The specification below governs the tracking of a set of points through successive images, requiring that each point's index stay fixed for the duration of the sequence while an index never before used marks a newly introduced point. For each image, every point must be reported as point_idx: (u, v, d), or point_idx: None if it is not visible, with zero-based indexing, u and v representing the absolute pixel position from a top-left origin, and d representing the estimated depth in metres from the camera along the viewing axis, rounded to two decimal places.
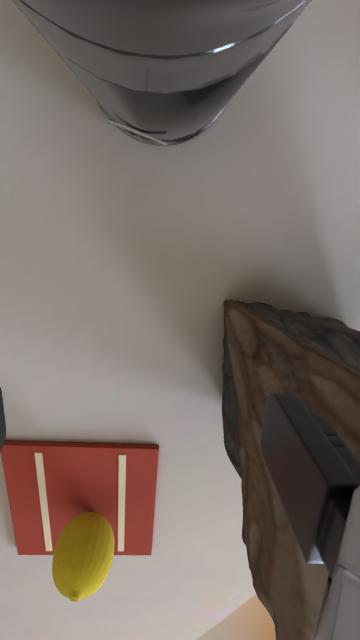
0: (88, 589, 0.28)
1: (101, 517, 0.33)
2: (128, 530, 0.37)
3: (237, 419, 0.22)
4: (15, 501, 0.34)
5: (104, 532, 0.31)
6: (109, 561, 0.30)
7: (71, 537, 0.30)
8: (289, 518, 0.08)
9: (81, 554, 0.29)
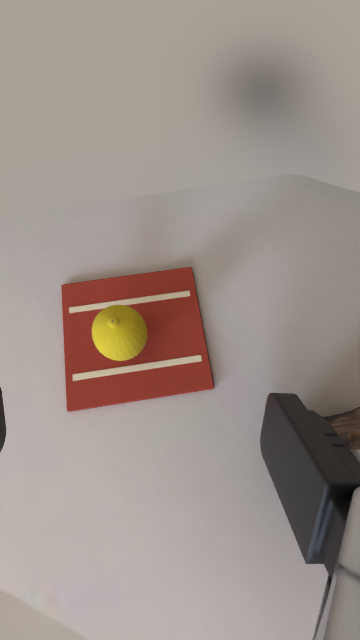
0: (118, 333, 0.30)
1: None
2: (104, 380, 0.36)
3: (350, 414, 0.28)
4: (132, 279, 0.40)
5: (142, 348, 0.34)
6: (126, 353, 0.32)
7: None
8: (289, 518, 0.08)
9: (142, 326, 0.32)
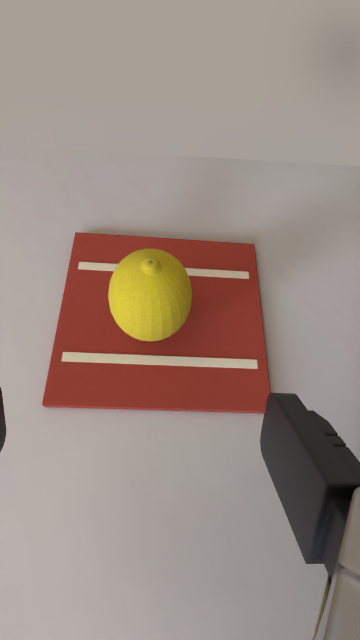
0: (155, 284, 0.19)
1: None
2: (109, 369, 0.24)
3: None
4: (172, 244, 0.29)
5: (180, 326, 0.22)
6: (157, 324, 0.20)
7: None
8: (289, 518, 0.08)
9: (189, 287, 0.21)
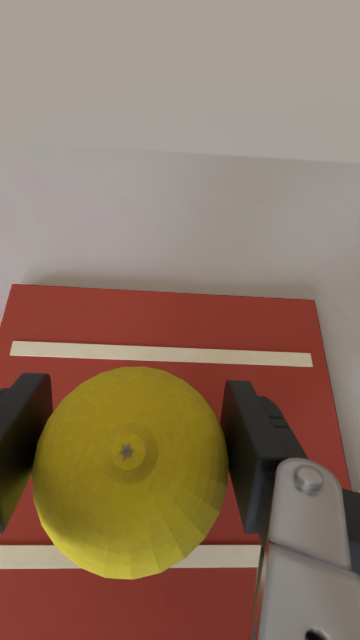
0: (141, 512, 0.07)
1: None
2: (54, 584, 0.12)
3: None
4: (178, 303, 0.17)
5: None
6: (148, 574, 0.08)
7: None
8: (235, 494, 0.09)
9: (227, 467, 0.09)
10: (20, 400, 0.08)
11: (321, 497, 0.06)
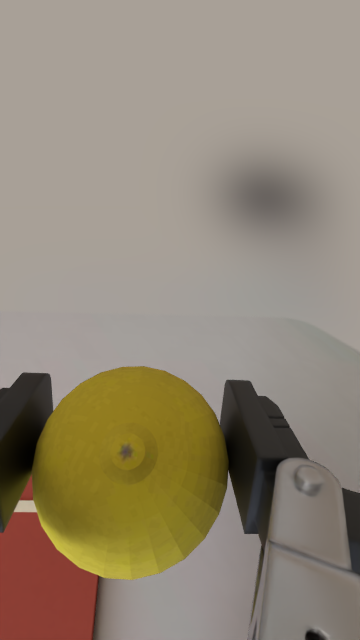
0: (141, 512, 0.07)
1: None
2: None
3: None
4: None
5: None
6: (148, 574, 0.08)
7: None
8: (235, 494, 0.09)
9: (226, 467, 0.09)
10: (20, 400, 0.08)
11: (321, 497, 0.06)
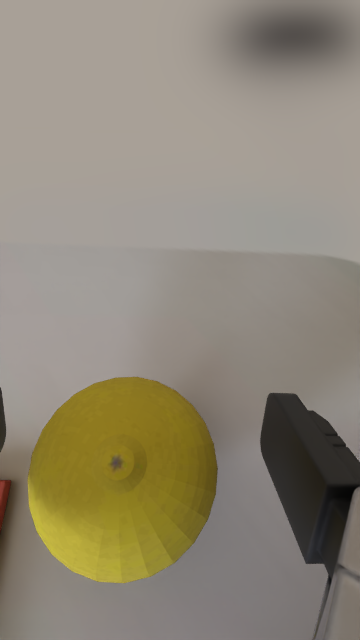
0: (131, 520, 0.07)
1: None
2: None
3: None
4: None
5: None
6: (139, 578, 0.08)
7: None
8: (289, 518, 0.08)
9: (214, 475, 0.09)
10: None
11: None
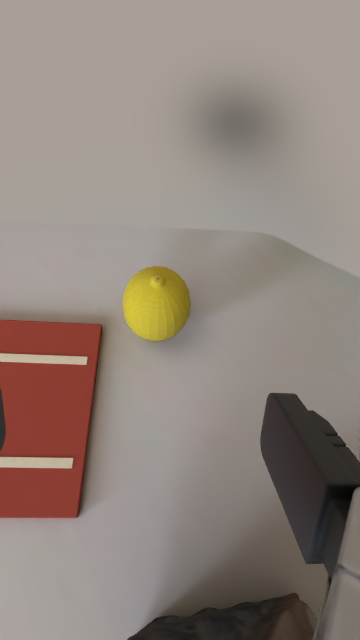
0: (161, 296, 0.24)
1: None
2: None
3: None
4: (14, 327, 0.29)
5: (180, 328, 0.27)
6: (162, 327, 0.25)
7: None
8: (289, 518, 0.08)
9: (188, 297, 0.26)
10: None
11: None
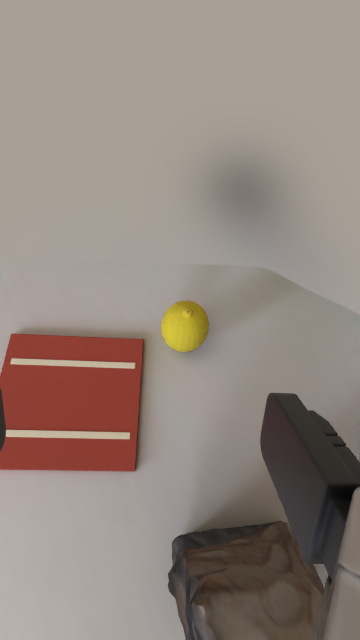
0: (190, 323, 0.35)
1: None
2: (25, 441, 0.35)
3: (253, 534, 0.27)
4: (82, 341, 0.40)
5: None
6: (190, 343, 0.37)
7: None
8: (289, 518, 0.08)
9: (207, 322, 0.37)
10: None
11: None
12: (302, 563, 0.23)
